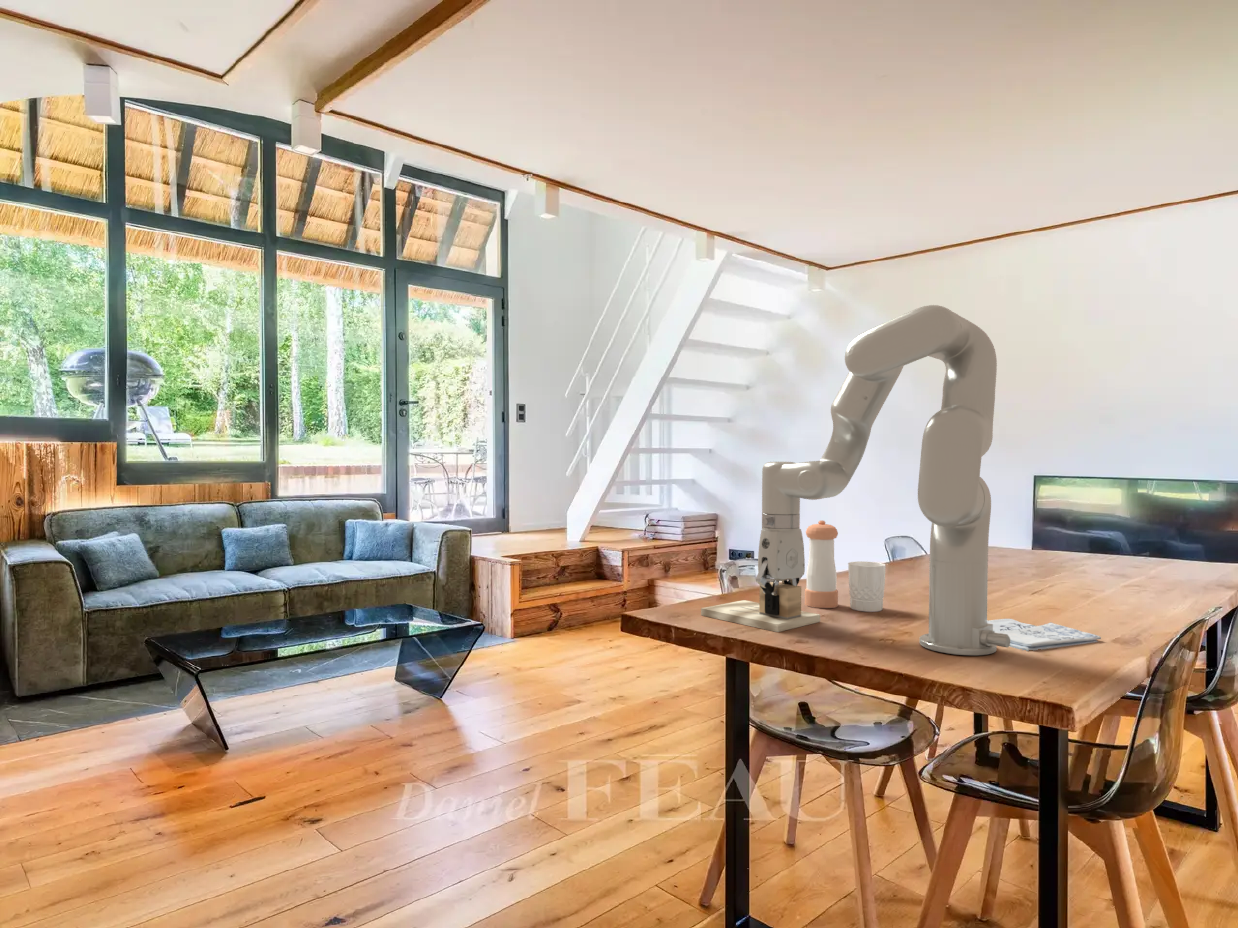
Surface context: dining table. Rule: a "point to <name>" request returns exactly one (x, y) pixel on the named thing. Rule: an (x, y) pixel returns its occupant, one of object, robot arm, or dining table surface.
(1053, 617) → the dining table surface
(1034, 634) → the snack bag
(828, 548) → the pepper shaker
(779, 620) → the board
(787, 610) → the block
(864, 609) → the white cup
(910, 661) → the dining table surface
